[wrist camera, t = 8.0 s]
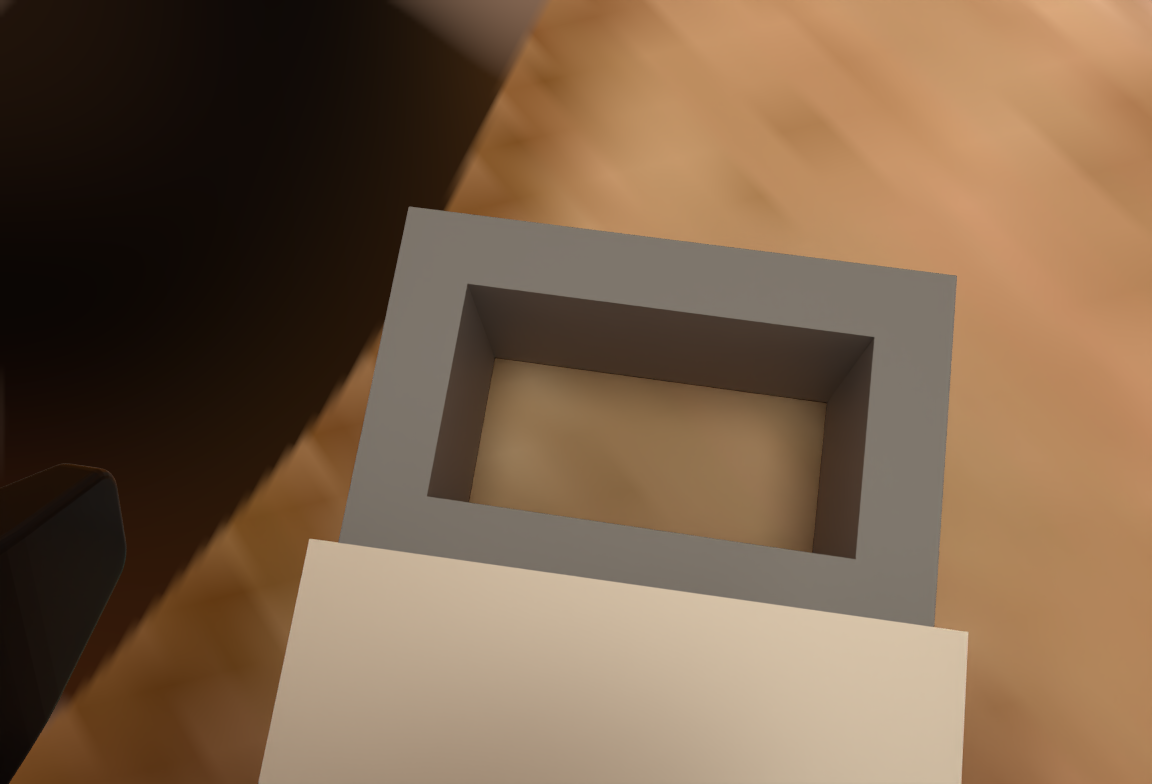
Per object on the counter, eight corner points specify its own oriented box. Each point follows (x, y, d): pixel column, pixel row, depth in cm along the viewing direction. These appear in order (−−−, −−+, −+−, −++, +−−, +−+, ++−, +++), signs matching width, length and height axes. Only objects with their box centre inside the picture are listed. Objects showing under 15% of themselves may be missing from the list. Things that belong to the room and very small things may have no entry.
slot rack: (821, 1268, 17) (884, 1448, 13) (275, 1160, 18) (174, 1301, 14) (894, 351, 21) (960, 270, 17) (446, 292, 22) (406, 201, 18)
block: (746, 815, 19) (950, 1007, 7) (465, 772, 19) (236, 887, 8) (760, 669, 19) (968, 632, 8) (488, 629, 20) (310, 538, 8)
